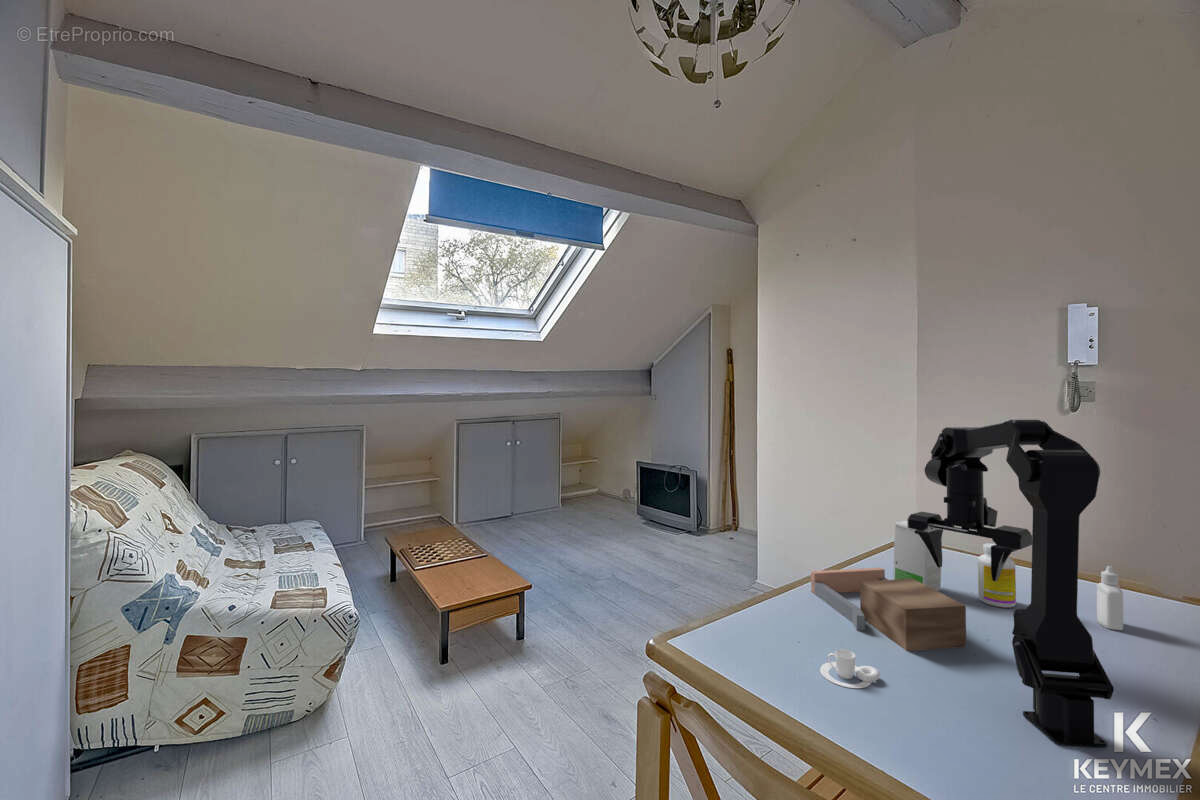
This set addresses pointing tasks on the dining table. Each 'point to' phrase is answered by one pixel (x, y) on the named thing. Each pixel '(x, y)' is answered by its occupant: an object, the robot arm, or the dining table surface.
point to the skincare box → (914, 558)
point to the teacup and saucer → (849, 670)
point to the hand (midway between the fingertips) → (966, 573)
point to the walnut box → (913, 614)
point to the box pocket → (844, 589)
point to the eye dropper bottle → (1110, 601)
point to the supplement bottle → (1000, 590)
